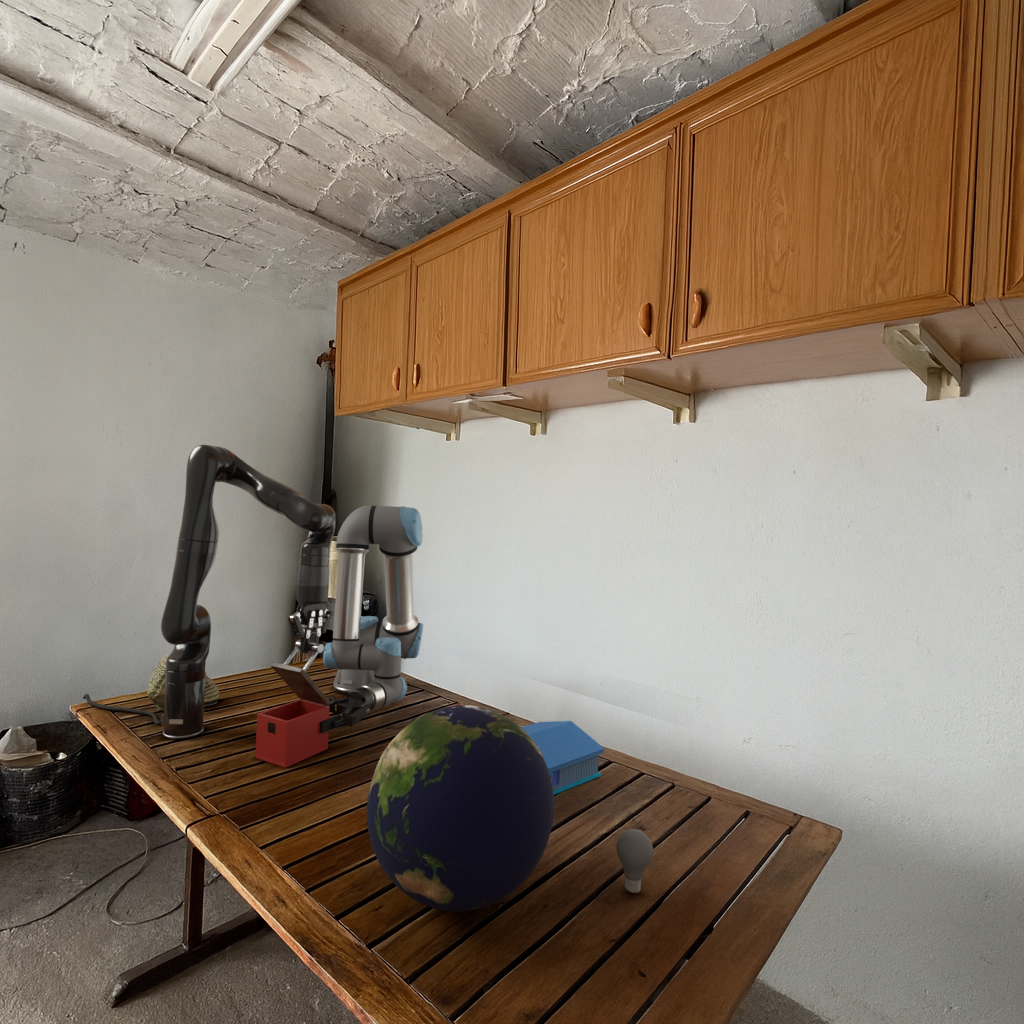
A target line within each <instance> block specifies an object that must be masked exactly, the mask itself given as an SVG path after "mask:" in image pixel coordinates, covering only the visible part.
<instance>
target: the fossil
mask: <svg viewBox="0 0 1024 1024" xmlns="http://www.w3.org/2000/svg"><path fill="white" fill-rule="evenodd" d="M169 655H170V654H165V655H164V656H163V657H162V658H161V659H160V660H159V662H158V663H157V666H156V667H155V669H154V670H153V672H152V675H151V677H150V680H149V684H148V688H147V697H148V699H149V700H150V701H152V703H153V704H154V706H155V711H158V712H159V711H162V712H163V711H164V705H165V674H166V659H167V657H168V656H169ZM220 698H221V696H220V690H219V688H218V686H217V685H216V683H215V682H214V681H213V679H212V678H211V677H209V675H208V674H207V672H206V671H205V693H204V707H207V706H213V705H215V704H217V703H218V701H219V699H220Z"/></svg>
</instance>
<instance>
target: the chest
mask: <svg viewBox="0 0 1024 1024" xmlns="http://www.w3.org/2000/svg"><path fill="white" fill-rule="evenodd" d="M329 708H330V707H329V706H325V705H321V704H317V703H313V702H311V701H307V700H304V699H300V698H299V699H297V700H294V701H291V702H288V703H285V704H282V705H279V706H276V707H272V708H270V709H267V710H264V711H261V712H257V713H256V734H255V759H258V760H261V761H263V762H267V763H269V764H273V765H276V766H278V767H281V768H285V769H286V768H288V767H291V766H293V765H295V764H297V763H300V762H302V761H304V760H306V759H309V758H311V757H313V756H315V755H317V754H319V753H322V752H324V751H326V750H328V749H329V733H330V730H329V731H326V732H324V733H320V722H321V721H324V720H326V719H329V718H330V713H329Z"/></svg>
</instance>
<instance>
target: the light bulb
mask: <svg viewBox="0 0 1024 1024" xmlns="http://www.w3.org/2000/svg"><path fill="white" fill-rule="evenodd" d="M615 849H616V854H617V857H618V859H619V861H620V863H621V865H622V867H623V873H624V874H623V875H624V876H625V878H624V888H625V890H627V891H628V892H630V893H634V894H635V893H639V892H640V891H641V889H642V887H641V886H642V879H643V877H644V875H645V871H646V868H647V867H648V866H649V864H650V863H651V861H652V859H653V855H654V847H653V843H652V841H651V838H649V836H648V835H647V834H646V833H645V832H643V831H642V830H641V829H636V828H629V829H627V830H625V831H623V832H622V833H621V834H620V835H619V837H618V839H617V841H616V847H615Z"/></svg>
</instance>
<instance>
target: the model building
mask: <svg viewBox="0 0 1024 1024" xmlns="http://www.w3.org/2000/svg"><path fill="white" fill-rule="evenodd" d="M520 727H521V728H522V729H523V730H524V731H525V732H526V733H527V734H528V735H529V736H530V737H531V739H532V740H533V741H534V742H535V744H536V745H537V747H538V748H539V750H540V752H541V753H542V755H543V757H544V760H545V763H546V765H547V767H548V770H549V774H550V777H551V782H552V786H553V794H554V796H555V795H557V794H560V793H562V792H565V791H568V790H569V789H572V788H575V787H578V786H580V785H582V784H584V783H588V782H589V781H591V780H594V779H597V778H600V777H602V773H601V772H599V760H600V758H599V757H600V755H602V754H604V753H605V748H604V746H602V745H601V744H600V743H599V742H597V740H595V739H594V738H593V737H591V735H589V734H588V733H586V732H585V731H584V730H583V729H582V728H580V727H579V726H578V725H576V724H575V722H573V721H572V720H554V721H552V720H551V721H537V722H534V723H531V724H528V725H527V724H526V725H523V726H520Z"/></svg>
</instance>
